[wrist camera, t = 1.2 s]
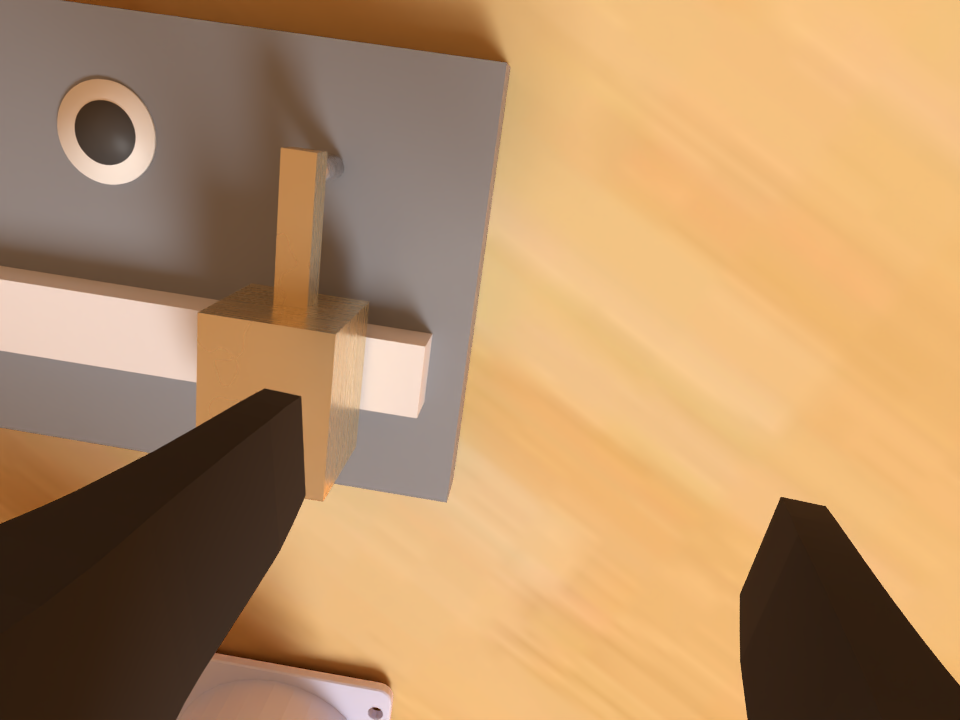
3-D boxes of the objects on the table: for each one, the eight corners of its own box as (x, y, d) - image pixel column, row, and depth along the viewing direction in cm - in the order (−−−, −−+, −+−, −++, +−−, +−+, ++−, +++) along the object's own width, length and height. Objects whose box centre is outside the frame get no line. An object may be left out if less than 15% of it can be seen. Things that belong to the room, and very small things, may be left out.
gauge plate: (452, 478, 23) (422, 589, 17) (-217, 367, 24) (-442, 439, 18) (510, 67, 19) (494, 45, 14) (-289, -45, 20) (-598, -107, 15)
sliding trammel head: (367, 428, 21) (323, 501, 17) (263, 411, 21) (195, 480, 17) (392, 155, 18) (349, 163, 14) (275, 137, 18) (199, 141, 15)
